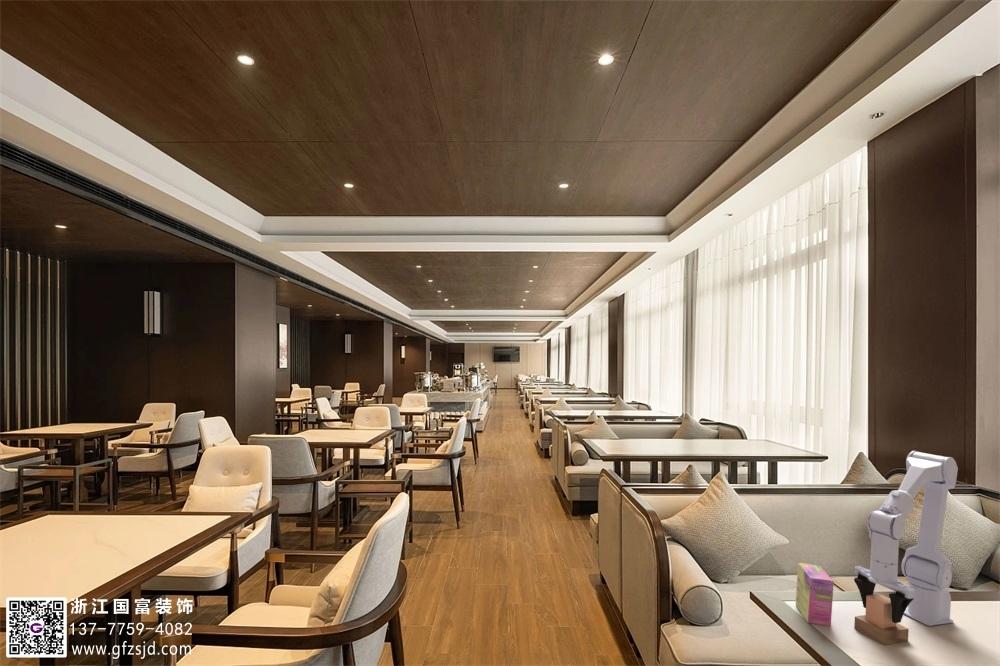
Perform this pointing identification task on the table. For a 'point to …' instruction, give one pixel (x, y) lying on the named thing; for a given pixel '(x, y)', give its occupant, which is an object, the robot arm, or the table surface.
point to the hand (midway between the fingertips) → (881, 614)
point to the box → (814, 594)
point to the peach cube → (879, 610)
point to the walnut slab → (881, 631)
